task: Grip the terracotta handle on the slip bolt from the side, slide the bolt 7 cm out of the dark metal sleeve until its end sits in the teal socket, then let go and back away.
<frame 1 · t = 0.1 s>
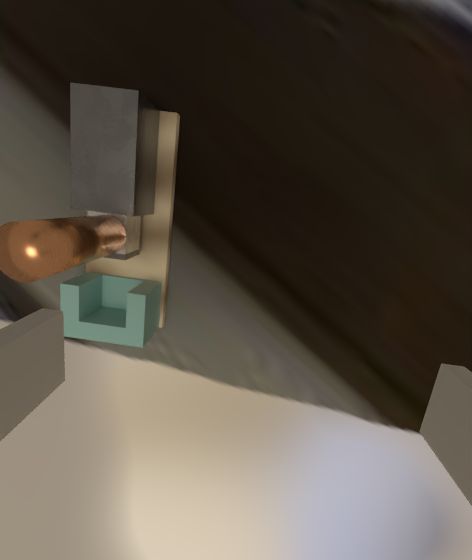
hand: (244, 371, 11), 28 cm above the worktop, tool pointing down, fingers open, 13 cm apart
slip bolt: (86, 182, 27), point 10 cm above the worktop, slide at 0.0 cm
sleeve: (133, 162, 36), resting on base board
socket: (128, 297, 40), resting on base board
base board: (131, 223, 38), on the worktop
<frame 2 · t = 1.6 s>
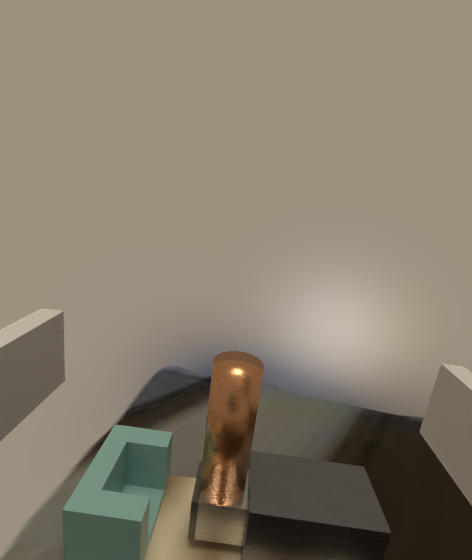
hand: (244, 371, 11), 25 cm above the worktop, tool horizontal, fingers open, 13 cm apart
slip bolt: (285, 455, 27), point 10 cm above the worktop, slide at 0.0 cm
sleeve: (298, 551, 29), resting on base board
socket: (124, 525, 30), resting on base board
base board: (223, 540, 29), on the worktop
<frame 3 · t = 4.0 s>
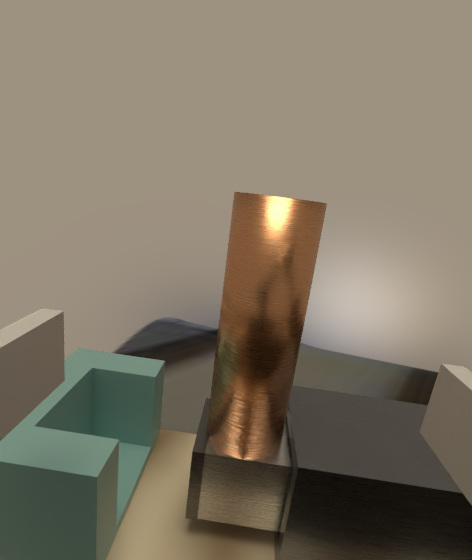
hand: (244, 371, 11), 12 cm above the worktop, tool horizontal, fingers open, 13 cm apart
slip bolt: (354, 377, 16), point 10 cm above the worktop, slide at 0.0 cm
sleeve: (364, 543, 18), resting on base board
socket: (85, 497, 19), resting on base board
base board: (243, 523, 18), on the worktop
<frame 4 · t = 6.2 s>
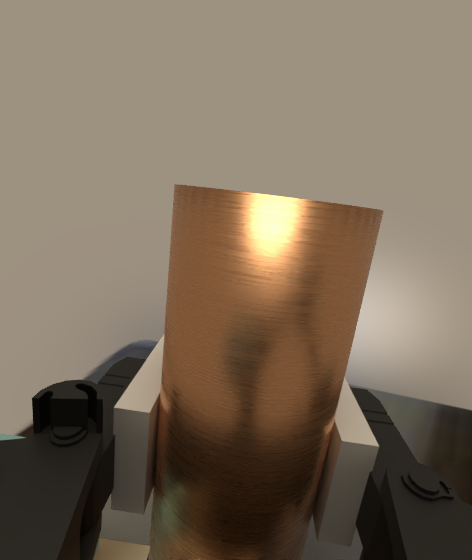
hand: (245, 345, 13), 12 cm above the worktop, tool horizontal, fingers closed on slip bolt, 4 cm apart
slip bolt: (417, 537, 8), point 10 cm above the worktop, slide at 0.0 cm, touching gripper
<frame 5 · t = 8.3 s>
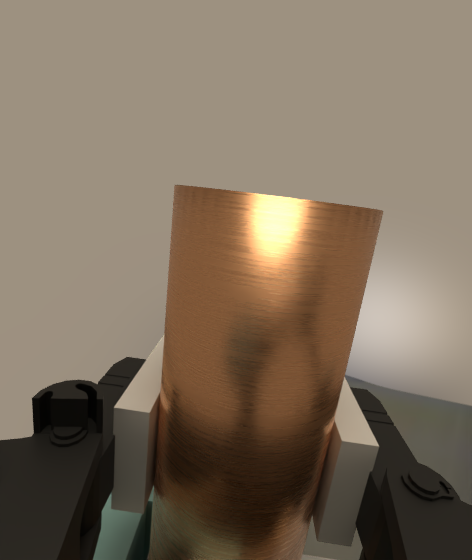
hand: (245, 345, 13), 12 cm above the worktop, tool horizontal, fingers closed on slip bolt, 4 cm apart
slip bolt: (417, 537, 8), point 10 cm above the worktop, slide at 6.8 cm, touching gripper
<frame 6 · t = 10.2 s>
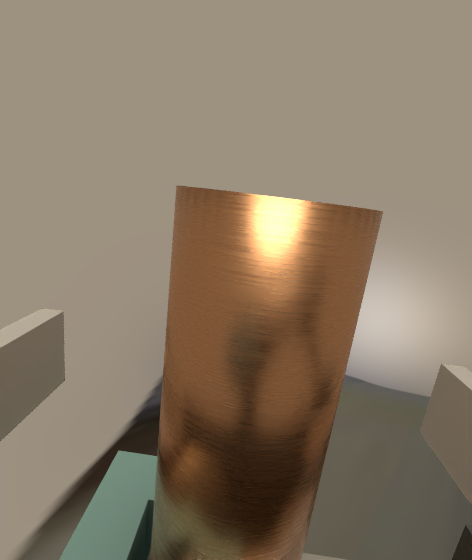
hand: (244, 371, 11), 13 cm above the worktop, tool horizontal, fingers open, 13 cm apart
slip bolt: (417, 535, 8), point 10 cm above the worktop, slide at 6.8 cm
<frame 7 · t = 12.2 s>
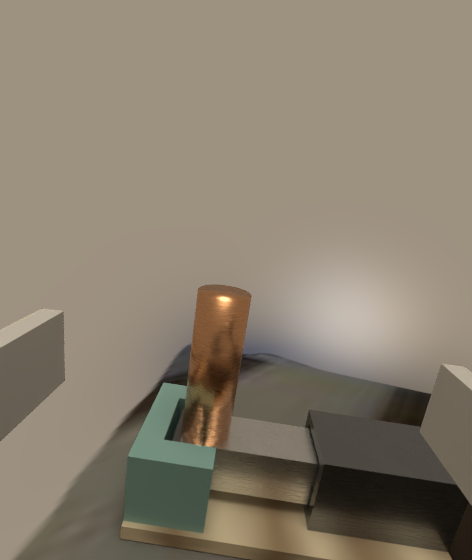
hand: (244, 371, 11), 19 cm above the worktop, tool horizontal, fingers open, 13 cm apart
slip bolt: (272, 396, 25), point 10 cm above the worktop, slide at 6.8 cm
sleeve: (360, 514, 28), resting on base board
socket: (176, 485, 28), resting on base board
base board: (281, 502, 28), on the worktop
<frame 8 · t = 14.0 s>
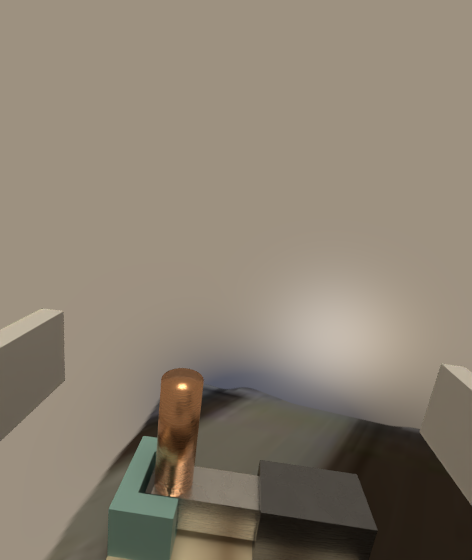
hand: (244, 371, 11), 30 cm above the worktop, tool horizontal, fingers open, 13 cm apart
slip bolt: (224, 455, 32), point 10 cm above the worktop, slide at 6.8 cm
sleeve: (300, 545, 34), resting on base board
socket: (152, 522, 35), resting on base board
base board: (237, 535, 35), on the worktop
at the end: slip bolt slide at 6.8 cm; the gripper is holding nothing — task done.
